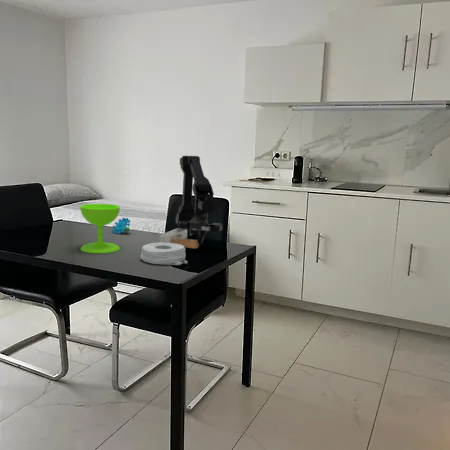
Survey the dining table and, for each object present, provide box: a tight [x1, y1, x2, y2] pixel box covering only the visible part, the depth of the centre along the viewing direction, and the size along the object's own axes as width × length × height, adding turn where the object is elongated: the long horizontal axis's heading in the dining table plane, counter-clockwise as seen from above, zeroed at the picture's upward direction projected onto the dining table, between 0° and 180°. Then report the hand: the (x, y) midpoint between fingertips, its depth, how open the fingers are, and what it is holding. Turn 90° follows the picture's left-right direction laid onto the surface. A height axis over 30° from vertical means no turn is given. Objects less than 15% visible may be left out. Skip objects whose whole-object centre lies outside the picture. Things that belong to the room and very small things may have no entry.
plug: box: [176, 236, 200, 249], centre depth 202 cm, size 4×13×4 cm, turn 71°
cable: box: [140, 242, 189, 266], centre depth 177 cm, size 18×18×6 cm
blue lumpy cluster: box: [111, 217, 132, 235], centre depth 226 cm, size 11×6×10 cm
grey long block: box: [158, 227, 188, 244], centre depth 203 cm, size 20×5×6 cm, turn 163°
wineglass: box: [79, 203, 121, 254], centre depth 189 cm, size 16×16×18 cm
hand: (200, 244), depth 200 cm, fingers closed
